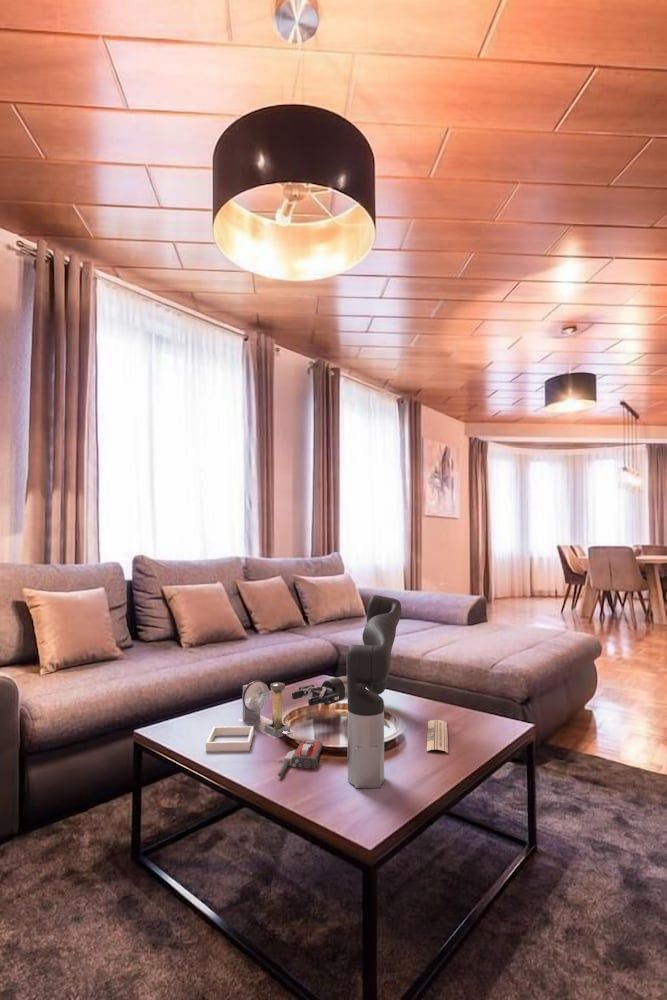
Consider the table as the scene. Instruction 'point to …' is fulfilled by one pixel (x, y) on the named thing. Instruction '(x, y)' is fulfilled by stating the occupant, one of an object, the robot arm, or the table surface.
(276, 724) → the lock pin
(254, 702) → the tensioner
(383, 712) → the robot arm
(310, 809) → the table surface
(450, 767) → the table surface
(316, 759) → the walkie-talkie
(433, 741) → the newspaper
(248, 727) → the parts tray
